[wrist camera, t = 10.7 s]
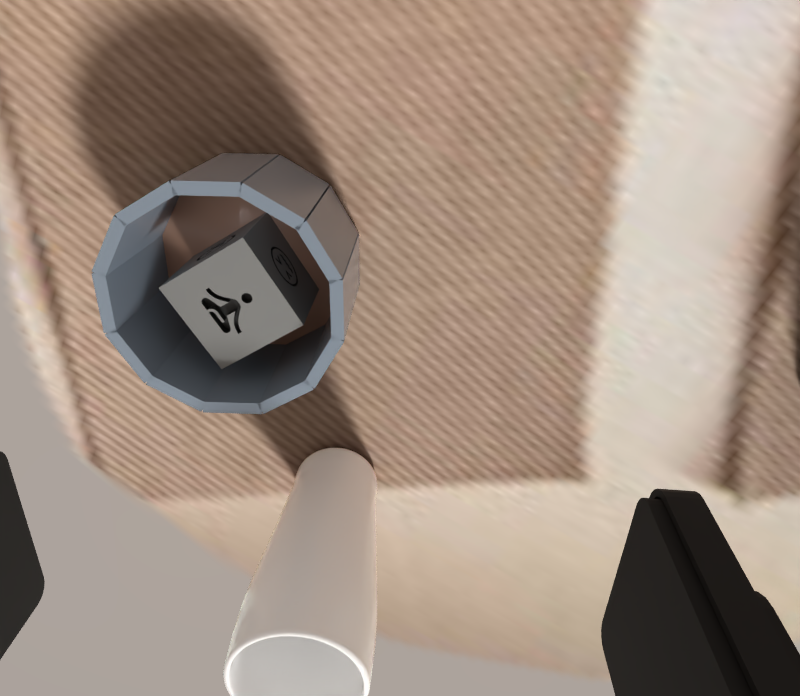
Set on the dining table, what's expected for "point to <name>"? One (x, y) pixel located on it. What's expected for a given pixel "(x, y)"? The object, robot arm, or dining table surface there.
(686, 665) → the robot arm
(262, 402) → the cup
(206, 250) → the dice cube
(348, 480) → the drinking glass
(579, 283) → the dining table surface
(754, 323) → the dining table surface
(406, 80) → the dining table surface
